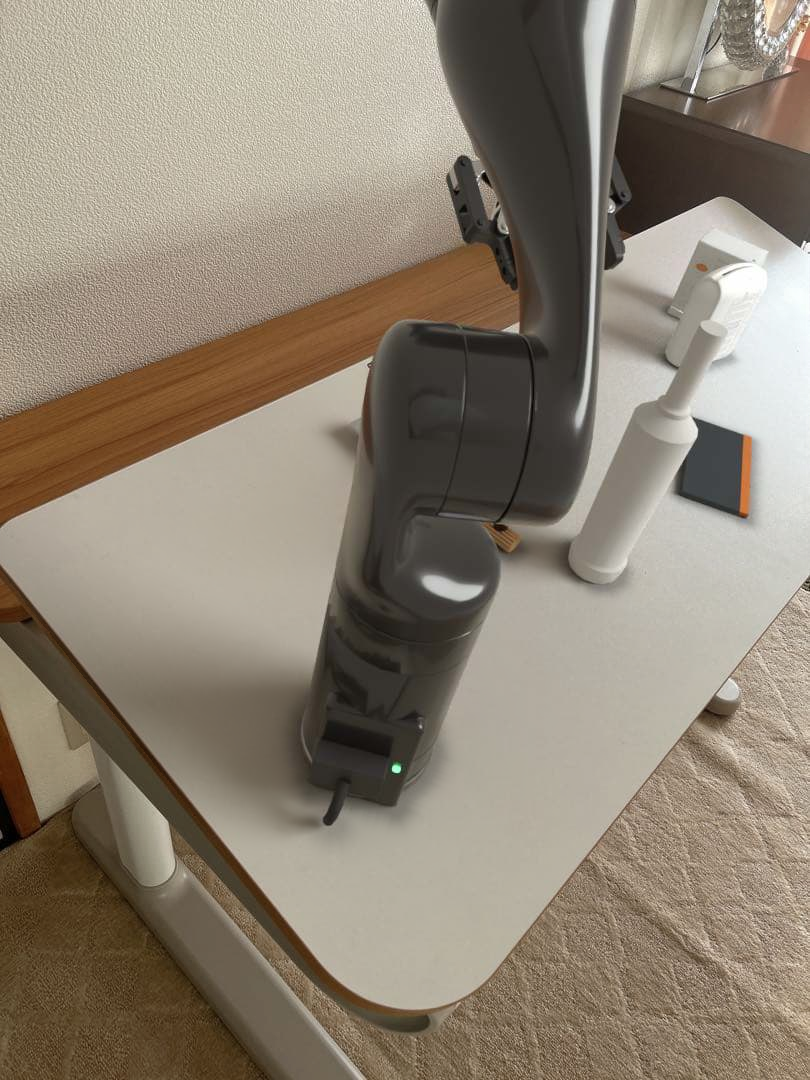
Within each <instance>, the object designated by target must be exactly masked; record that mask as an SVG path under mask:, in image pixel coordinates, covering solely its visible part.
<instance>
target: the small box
mask: <svg viewBox="0 0 810 1080" xmlns="http://www.w3.org/2000/svg"><path fill="white" fill-rule="evenodd" d="M768 255H769V251H768V250H767V249H764V248H762V247H760V246H757V245H755V244H752V243H751V242H748V241H745V240H742V239H740V238H739V237H736V236H734V235H731V234H729V233H727V232H724V231H722V230H719V229H717V228H715V227H711V229H709V230H708V231H707V232H706V233H705V235H703V236H702V237H701V238H700V239H699V240H698V241H697V244H696V246H695V249H694V251H693V254H692V256H691V258H690V260H689V262H688V265H687V267H686V269H685V272H684V274H683V276H682V278H681V280H680V283H679V285H678V287H677V288H676V292H675V294H674V296H673V298H672V300H671V302H670V305H671V306H673V307H675V308H677V309H678V310H681V311H682V312H684V310H685V307H686V305H687V303H688V301H689V299H690V297H691V295H692V293H693V291H694V289H695V287H696V285H697V283H698V282H699V281H700V280H701V279H702V278H703V277H705V276H706V275H707V274H709V273H711V272H712V271H714V270H716V269H719V268H721V267H724V266H727V265H730V264H735V263H744V262H745V263H753V264H756V265H757V266H758V267H759V268H762V267H763V265H764V263H765V260H766V259H767V257H768ZM666 313H667V314H669V315H670V316H673V317H675V318H677V319H678V320H680V318H681V316H682V314H683V313H681V312H679V311H677V310H675V309H673V308H671V307H670V306H669V307H668V309H667V312H666Z"/></svg>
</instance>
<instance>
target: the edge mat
mask: <svg viewBox="0 0 810 1080" xmlns="http://www.w3.org/2000/svg"><path fill="white" fill-rule="evenodd" d="M691 417H692V419H693V421H694V422H695V424H696V426H697V428H698V435H697V438H696V440H695V442H694V443H693V445H692V447H691V448H690V450H689V452H688V454H687V455H686V457H685V459H684V460H683V467H682V474H681V475H682V476H681V482H680V483H681V484H680V490H679V492H680V493H679V496H681V497H685V498H688V499H690V500H692V501H696V502H699V503H701V504H704V505H706V506H710V507H713V508H716V509H718V510H720V511H723V512H726V513H730V514H732V515H735V516H738V517H740V518H744V519H747V518H748V517H749V516H750V499H751V498H750V497H751V495H750V493H751V473H752V472H751V470H752V443H753V440H752V439H753V437H752V436H750V435H746V434H742V433H740V432H737V431H734V430H731V429H728V428H726V427H723V426H720V425H717V424H714V423H711V422H708V421H705V420H702V419H700V418H697V417H694V416H691Z"/></svg>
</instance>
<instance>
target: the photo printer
mask: <svg viewBox="0 0 810 1080" xmlns="http://www.w3.org/2000/svg"><path fill="white" fill-rule="evenodd" d="M767 285H768V274H767V272H766V270H765V269H764V268H762V267H761V268H759V267H758V266H757V265H756V264H753V263H745V262H744V263H735V264H730V265H727V266H724V267H721V268H719V269H716V270H714V271H712V272H711V273H709V274H707V275H706V276H705V277H703V278H702V279H701V280H700V281H699V282H698V283H697V285H696V287H695V289H694V291H693V293H692V295H691V297H690V299H689V301H688V303H687V305H686V307H685V310H684V312H683V314H682V316H681V318H680V319H678V322H677V324H676V326H675V327H674V330H673V332H672V335H671V337H670V339H669V341H668V343H667V345H666V348H665V350H664V354H665V358H666V360H667V361H668V362H669V363H670V364H672V365H673V366H675V367H677V368H679V367H680V365H681V363H682V361H683V359H684V357H685V355H686V353H687V351H688V349H689V345H690V343H691V341H692V339H693V337H694V335H695V333H696V331H697V329H698V327H699V325H700V323H701V322H702V321H704V320H710V321H714V322H717V323H719V324H721V325H723V326H724V327H725V328H726V329H727V331H728V335H727V337H726V338H725V340H724V342H723V344H722V346H721V348H720V350H719V352H718V354H717V356H716V357H715V358H714V360H713V361H712V363H713V362H716V361H719V360H722V359H725V358H726V357H729V355H731V353H732V352H733V350H734V349H735V346H736V344H737V343H738V342H739V339H740V338H741V335H742V333H743V332H744V329H745V327H746V326H747V324H748V323H749V320H750V318H751V317H752V315H753V313H754V311H755V310H756V308H757V305H758V304H759V302H760V300H761V298H762V297H763V295H764V293H765V291H766V288H767Z"/></svg>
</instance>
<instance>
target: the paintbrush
mask: <svg viewBox="0 0 810 1080" xmlns="http://www.w3.org/2000/svg"><path fill="white" fill-rule="evenodd" d="M360 421H361V417H359V418H357V419H355V420H353V421H351V422H349V423H348V425H349V427H350V428H351V429H352V430H353V432H355V433H356V434H357V436H359V429H360ZM480 523H481V524H482V525H483V526H484V527H485V528H486V529H487V531H488V532H489V533H490V535H491V536H492V538H493V540H494V542H495V544H496V545H498V546H499V547H500V548H501V549H503V550H504V551H505V552H506V553H511V552H513V551H514V550H515V549H516V548H517V547H518V545H519V544H520V542H521V540H522V537H521V535H520V534H518V533H517V532H516V531H515V530H514V529H512V528H511V527H509V525H505V524H495V523H487V522H480Z"/></svg>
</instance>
